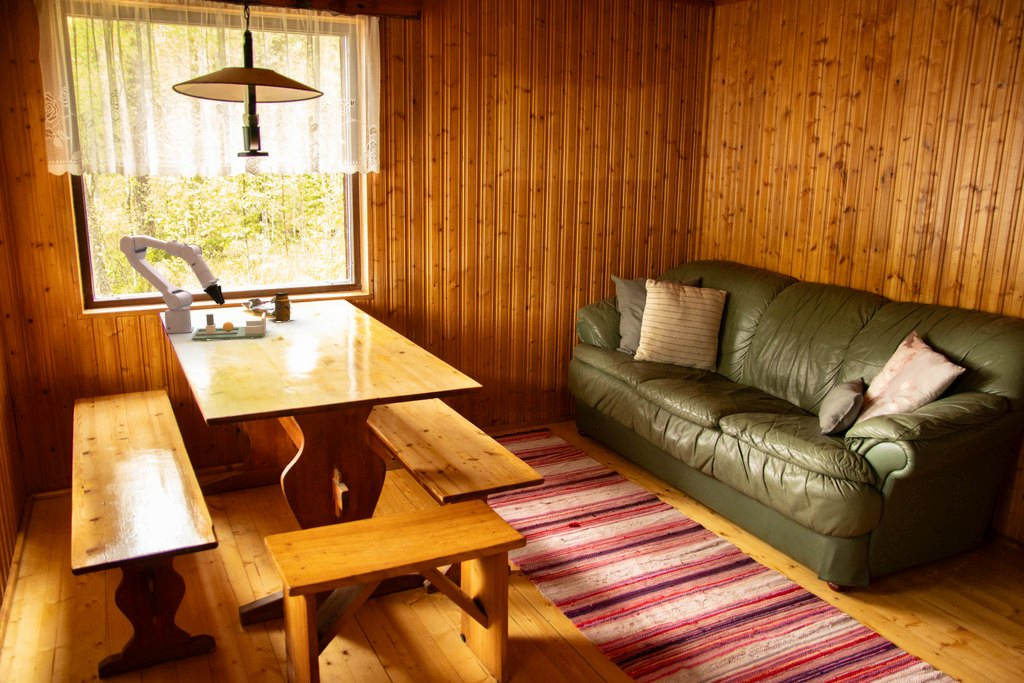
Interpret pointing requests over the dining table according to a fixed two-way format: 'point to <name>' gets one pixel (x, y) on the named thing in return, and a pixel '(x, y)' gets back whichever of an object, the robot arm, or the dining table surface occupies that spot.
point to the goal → (256, 326)
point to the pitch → (223, 334)
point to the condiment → (281, 307)
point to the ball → (228, 326)
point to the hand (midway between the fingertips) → (221, 303)
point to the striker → (210, 324)
